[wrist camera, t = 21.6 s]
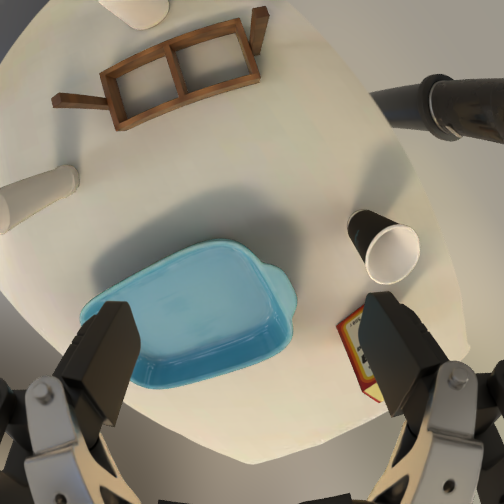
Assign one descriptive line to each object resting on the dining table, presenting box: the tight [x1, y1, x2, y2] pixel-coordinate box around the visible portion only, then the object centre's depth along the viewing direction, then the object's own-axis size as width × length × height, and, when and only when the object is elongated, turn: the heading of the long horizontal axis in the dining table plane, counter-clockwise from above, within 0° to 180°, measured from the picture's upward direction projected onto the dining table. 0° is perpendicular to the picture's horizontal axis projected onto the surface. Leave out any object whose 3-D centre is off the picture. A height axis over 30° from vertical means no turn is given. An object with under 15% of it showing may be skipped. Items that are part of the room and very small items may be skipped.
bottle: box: [0, 165, 79, 234], centre depth 23 cm, size 5×5×25 cm
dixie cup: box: [347, 210, 420, 284], centre depth 35 cm, size 8×8×11 cm
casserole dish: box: [80, 238, 297, 389], centre depth 42 cm, size 37×22×7 cm, turn 116°
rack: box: [51, 6, 270, 131], centre depth 23 cm, size 22×9×14 cm, turn 106°
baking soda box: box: [336, 305, 384, 403], centre depth 40 cm, size 10×6×16 cm
